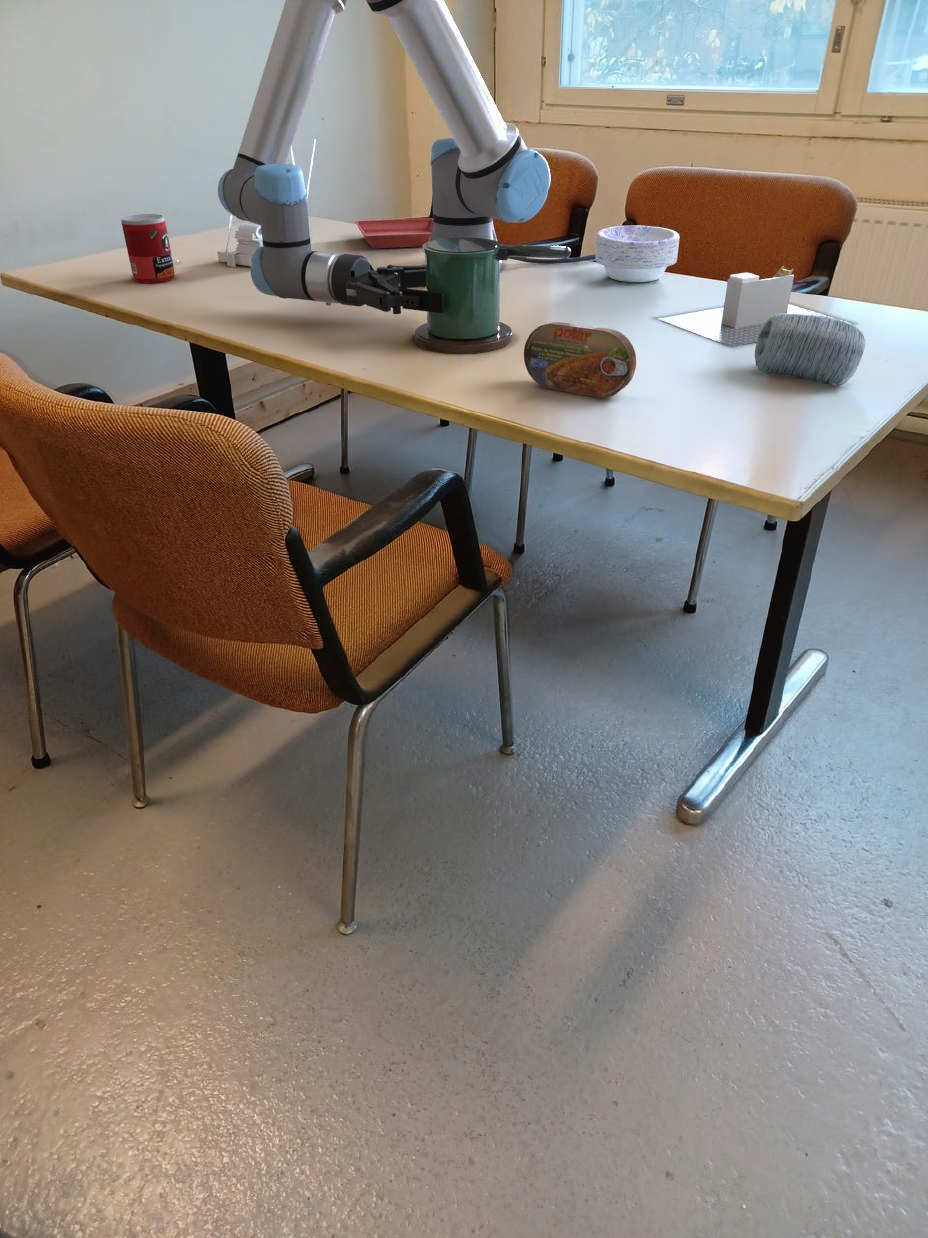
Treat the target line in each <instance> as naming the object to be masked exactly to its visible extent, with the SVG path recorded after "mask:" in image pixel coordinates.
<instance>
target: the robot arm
mask: <svg viewBox="0 0 928 1238" xmlns="http://www.w3.org/2000/svg"><path fill="white" fill-rule="evenodd" d="M365 1H366V3H367V5H368V7H369V8H370V11H371V12H372V13H373V14H375V15H380V16H383V17H386V18H387V20H388V22H389V23H390V25H391V27H392V29H393V31H394V33H395V34H396V36H397V37H398V40H399V42H400V43H401V45H402V47H403V49H404V51H405V53H406V54H407V57H408V58H409V60H410V61H411V63H412V65H413V68H414V70H415V71H416V73H417V74H418V77H419V78H420V81H421V82H422V83H423V86H424V88H425V89H426V91H427V93H428V95H429V97H430V98H431V100H432V102H433V104H434V105H435V107H436V109H437V111H438V113H439V115H440V116H441V118H442V120H443V122H444V124H445V126H446V127H447V129H448V131H449V133H450V135H451V137H448V138H447V137H446V138H440V139H437V140H435V141H434V142H433V144H432V145H431V155H430V166H431V193H432V195H431V197H432V219H433V229H432V233H431V237H429V241H428V242H430V241H433V240H438V239H445V238H461V237H468V238H484V239H490V240H495V241H498V239H497V235H496V231H495V228H494V220H498V221H502V222H504V223H508V224H509V223H516V224H517V223H518V224H521V223H525V222H528V221H530V220H531V219H533V218H535V216H536V215H537V214H538V213H539V212H540V211H541V210H542V208H543V206H544V205H545V202H546V201H547V199H548V196H549V195H548V193H549V192H548V191H549V189H550V186H551V172H550V171H551V170H550V167H549V164H548V161H547V160H546V158H545V157H544V155H542V154H541V153H539V152H538V151H537V150H534V149H528V147H527V146H526V144H525V141H524V139H523V137H522V135H521V133H520V131H519V129H518V127H517V126H516V125H515V124H514V123H511V122H506V121H504V120H503V118H502V115H501V113H500V112H499V109H498V108H497V105H496V104H495V101H494V99H493V97H492V95H491V94H490V91H489V90H488V87H487V85H486V83H485V81H484V79H483V77H482V76H481V73H480V71H479V69H478V67H477V65H476V63H475V61H474V58H473V57H472V55H471V53H470V50H469V49H468V47H467V45H466V43H465V40H464V39H463V36H462V35H461V33H460V30H459V29H458V26H457V25H456V22H455V20H454V19H453V16H452V15H451V13H450V10H449V9H448V6H447V4H446V3H445V0H365ZM347 2H348V0H285V1H284V4H283V8H282V10H281V14H280V18H279V20H278V23H277V27H276V29H275V34H274V37H273V40H272V42H271V45H270V48H269V49H270V50H269V53H268V56H267V59H266V62H265V66H264V68H263V72H262V75H261V78H260V80H259V81H260V82H259V85H258V88H257V91H256V95H255V98H254V100H253V104H252V107H251V110H250V114H249V116H248V120H247V123H246V127H245V129H244V133H243V136H242V138H241V143H240V145H239V149H238V152H237V154H236V158H235V161H234V164H233V167H232V168H230V169H228V170H227V171H225V172H224V173H223V174H222V175H221V177H220V179H219V181H218V184H217V195H218V199H219V202H220V205H222V207H223V208H224V210H225V211H227V212H228V213H229V214H231V215H233V217H236V218H237V219H239V220H241V221H244V222H245V221H246V222H248V223H249V222H252V223H255V224H258V225H261V232H262V239H263V247H260V248H258V249H257V250H256V251H255V253H254V254H253V257H252V266H249V267H250V268H249V270H250V271H249V272H250V278H251V280H252V283H253V285H254V287H255V288H256V289H257V290H258V291H259V292H260V293H262V294H264V295H266V296H267V295H268V296H272V297H277V298H280V299H285V300H286V299H290V300H291V299H293V300H302V301H310V302H311V301H313V302H320V303H322V302H323V303H325V305H326V307H331V306H332V304H340V305H344V306H351V307H352V306H353V307H363V306H365V305H366V306H367V307H369V308H370V307H371V308H373V309H376V310H378V311H382V312H385V313H389V312H391V311H392V314H393V315H401V314H402V309H403V310H409V311H410V310H411V311H420V312H426V313H427V312H436V313H444V312H445V305H444V293H443V292H434V291H426V289H425V290H422V289H416V288H426V272H425V265H395V264H394V265H393V264H389V265H386V266H379V267H376V269H374V267H373V265H372V263H371V261H370V260H369V259H368V258H367V257H366V256H365V255H362V254H353V253H352V254H350V253H341V252H333V251H319V250H317V251H316V250H312V245H311V236H310V235H311V233H310V223H309V210H308V198H307V187H306V183H305V178H304V172H303V170H302V168H301V167H300V166H299V165H297V164H295V165H294V164H293V163H287V160H288V157H289V154H290V152H291V151H290V148H291V145H292V146H293V142H294V139H295V136H296V133H297V129H298V128H299V125H300V120H301V118H302V115H303V111H304V110H305V109H304V108H305V106H306V103H307V100H308V97H309V94H310V91H311V88H312V85H313V81H314V79H315V76H316V74H317V73H316V72H317V70H318V67H319V64H320V60H321V57H322V54H323V52H324V49H325V45H326V43H327V41H328V37H329V34H330V30H331V27H332V24H333V22H334V18H335V17H336V16H337V15H339V14H341V13H343V12H344V10H345V7H346V5H347ZM595 255H596V253H595V254H589V255H588V254H587V255H583V256H577V257H568V258H566V259H560V258H533V257H509V258H508V259H507V260H515V261H518V262H524V263H529V264H539V265H542V264H543V265H554V264H571V263H580V262H586V261H590V260H595ZM502 265H503V260H500V269H502Z"/></svg>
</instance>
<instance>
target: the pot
mask: <svg viewBox="0 0 928 1238" xmlns="http://www.w3.org/2000/svg"><path fill="white" fill-rule="evenodd" d="M422 252H423V253H424V266H425V272H426V287H425V291H434V292H443V293H444V305H445V312H444V313H436V312H427V311H426V323H427V330H428V332H429V333H430V334H432V335H435V336H438V337H442V338H448V339H476V338H483V337H487V336H491V335H493V334H495V333H497V332H498V331H499V322H500V311H501V309H500V307H501V306H500V304H501V303H500V301H501V291H500V290H501V289H500V288H501V268H500V260H502V261H508V260H509V259H508V258H509V257H527V258H534V259H566V258H570V256H571V255H572V250H571V248H570V247H569V246H561V245H560V246H559V245H536V244H535V245H532V244H507V243H506V244H505V243H503V244H502V242H500V241H498V240H497V241H495V240H490V239H484V238H468V237H461V238H445V239H438V240H433V241H430V242H427V243H425V244H424V245H423V246H422Z"/></svg>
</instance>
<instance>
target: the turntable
mask: <svg viewBox="0 0 928 1238" xmlns="http://www.w3.org/2000/svg"><path fill="white" fill-rule="evenodd" d="M512 341H513V329H512V327H511V326H510V325H508V324H506V323H504V322H501V321H499V331H498V332H497V333H495V334H493V335H491V336H487V337H483V338H476V339H448V338H442V337H438V336H435V335H432V334H430V333H429V332H428V330H427V322H425V323H423V324H420V325H419V326H418V327H416V328H415V329H414V342H415V344H416V345H417V346H419V347H421V348H423V349H425V350H428V351H433V352H437V353H442V354H456V355H457V354H458V355H460V354H463V355H465V354H480V353H486V352H493V351H497V350H499V349H503V348H505V347H507V346H508V345H509V344H511V343H512Z"/></svg>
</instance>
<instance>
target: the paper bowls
mask: <svg viewBox="0 0 928 1238" xmlns="http://www.w3.org/2000/svg"><path fill="white" fill-rule="evenodd" d="M595 241H596V242H595V254H596V255H595V259H594V260H595V262H596V263H597V264H599V265H601V266H603V268H604V270H605V273H606V275H607V276H608V277H609V278H611V280H615V281H618V282H625V283H649V282H653V281H656V280H658V279H659V278H661V277H662V276H663V275H664V273H665V271H666V270H667V268H668V267H670V266H673V265H675V264H676V263H677V261H678V255H679V254H678V253H679V244H680V234H679V233H678V232H677V231H675V230H674V229H669V228H665V227H660V226H651V225H639V224H638V225H618V226H617V225H616V226H610V227H606V228H603V229H600V230H599V231H598V232H596V239H595Z"/></svg>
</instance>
